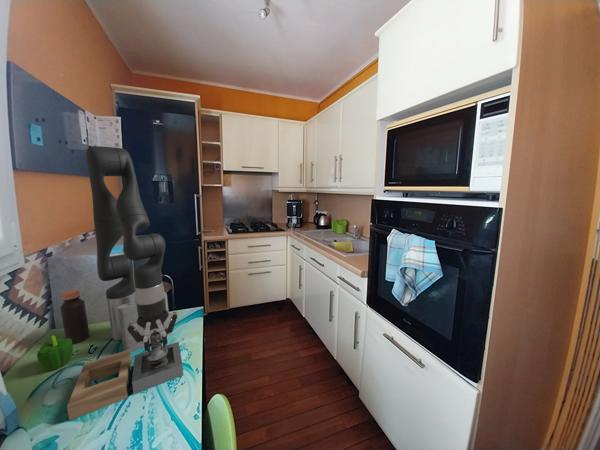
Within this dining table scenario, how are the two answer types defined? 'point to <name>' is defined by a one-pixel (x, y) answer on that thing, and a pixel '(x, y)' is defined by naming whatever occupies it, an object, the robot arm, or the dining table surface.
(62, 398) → the dining table surface
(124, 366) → the wooden rectangular frame
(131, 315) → the hip flask
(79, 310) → the bottle
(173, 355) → the seat block
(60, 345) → the bell pepper
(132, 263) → the robot arm
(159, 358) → the chess piece
